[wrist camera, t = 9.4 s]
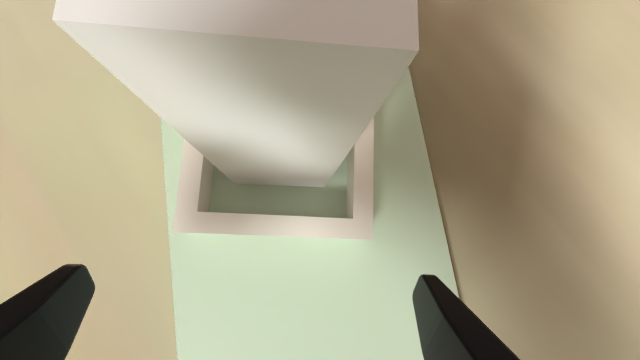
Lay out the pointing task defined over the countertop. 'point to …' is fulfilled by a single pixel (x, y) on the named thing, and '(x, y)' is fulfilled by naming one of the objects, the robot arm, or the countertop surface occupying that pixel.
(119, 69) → the plug
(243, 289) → the board
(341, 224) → the white square frame
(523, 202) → the countertop surface
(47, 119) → the countertop surface
